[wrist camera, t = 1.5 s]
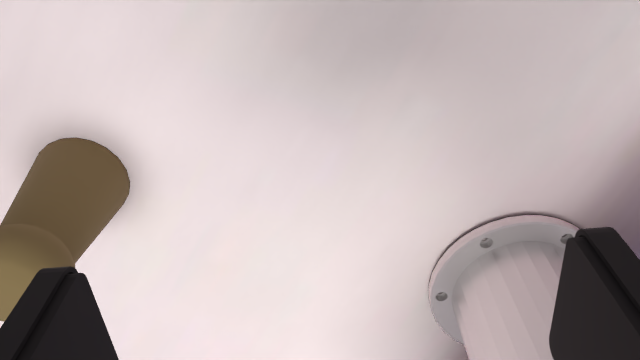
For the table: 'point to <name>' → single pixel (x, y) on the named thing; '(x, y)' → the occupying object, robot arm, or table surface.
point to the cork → (58, 212)
